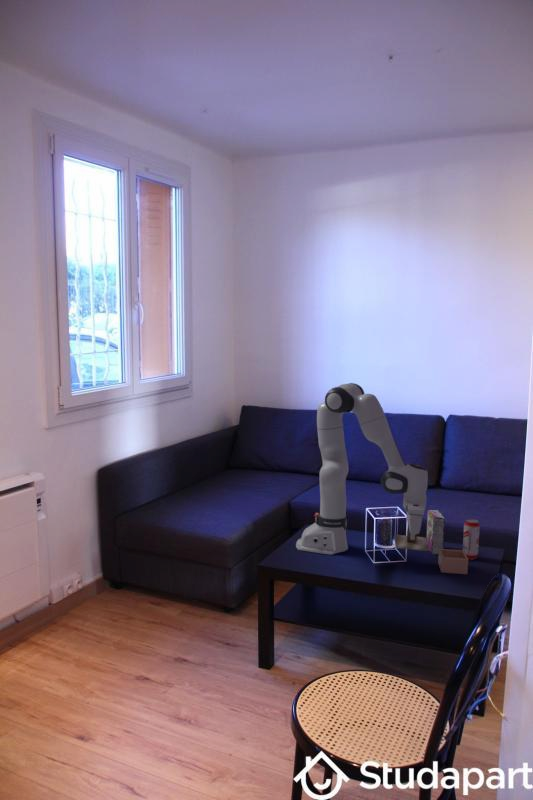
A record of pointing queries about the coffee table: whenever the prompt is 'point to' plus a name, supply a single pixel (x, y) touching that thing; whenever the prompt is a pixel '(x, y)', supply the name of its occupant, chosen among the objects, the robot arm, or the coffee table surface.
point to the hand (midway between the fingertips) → (411, 537)
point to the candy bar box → (435, 531)
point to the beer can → (471, 538)
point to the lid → (411, 542)
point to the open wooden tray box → (453, 561)
